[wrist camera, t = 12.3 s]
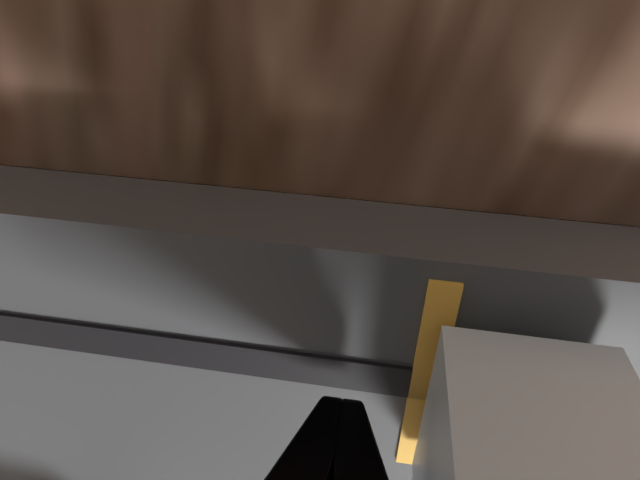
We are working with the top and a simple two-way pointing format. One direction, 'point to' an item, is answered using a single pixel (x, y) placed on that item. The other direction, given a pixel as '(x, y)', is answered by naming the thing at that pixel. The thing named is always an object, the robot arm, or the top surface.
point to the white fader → (528, 410)
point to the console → (260, 316)
